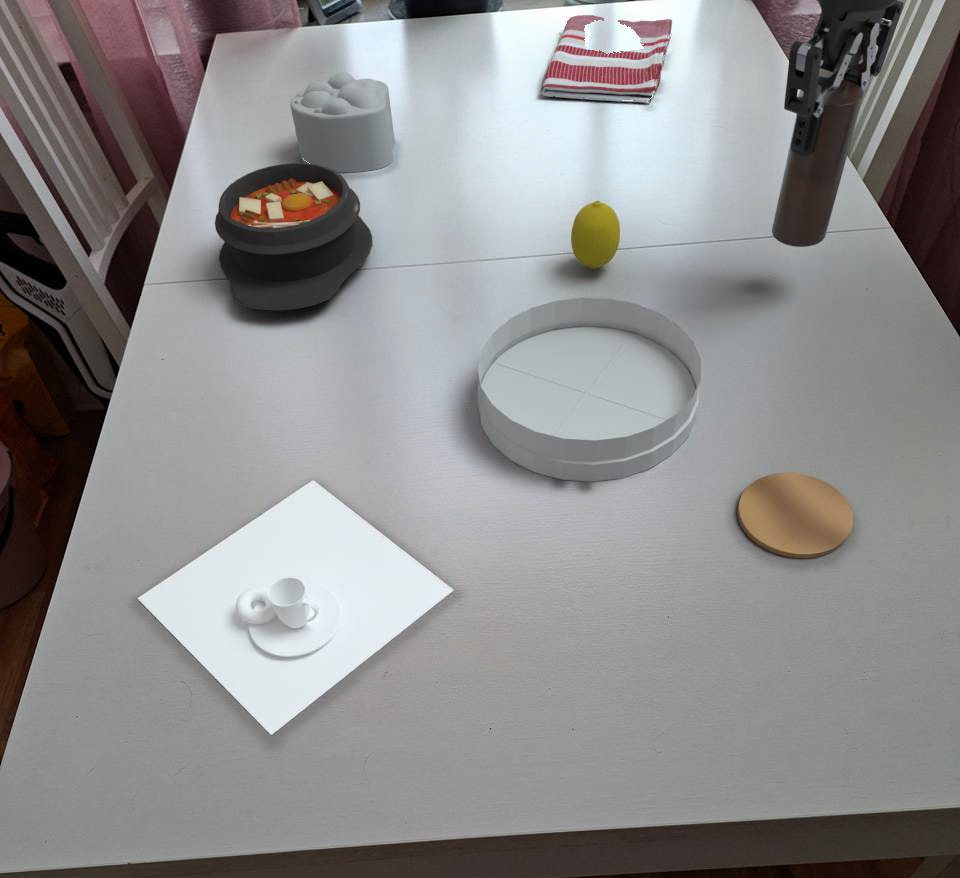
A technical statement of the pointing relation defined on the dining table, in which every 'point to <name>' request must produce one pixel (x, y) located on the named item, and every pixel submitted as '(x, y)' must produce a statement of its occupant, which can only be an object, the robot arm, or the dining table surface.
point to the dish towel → (607, 64)
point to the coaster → (795, 515)
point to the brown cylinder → (817, 172)
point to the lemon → (595, 234)
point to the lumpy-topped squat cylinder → (344, 124)
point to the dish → (588, 388)
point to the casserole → (290, 236)
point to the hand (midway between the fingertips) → (820, 140)
